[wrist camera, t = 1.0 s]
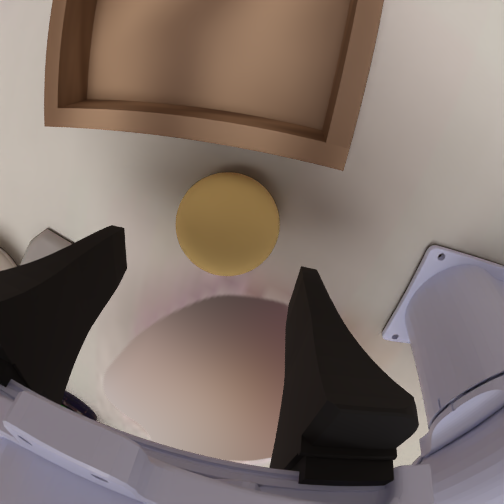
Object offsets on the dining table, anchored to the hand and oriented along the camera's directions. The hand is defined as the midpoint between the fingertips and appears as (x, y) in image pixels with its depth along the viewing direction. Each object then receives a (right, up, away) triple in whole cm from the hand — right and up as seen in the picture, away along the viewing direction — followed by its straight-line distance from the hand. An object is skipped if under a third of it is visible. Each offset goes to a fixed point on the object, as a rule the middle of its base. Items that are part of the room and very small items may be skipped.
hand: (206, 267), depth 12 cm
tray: (0, +12, 0) cm, 12 cm away
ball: (+1, +3, +5) cm, 6 cm away
